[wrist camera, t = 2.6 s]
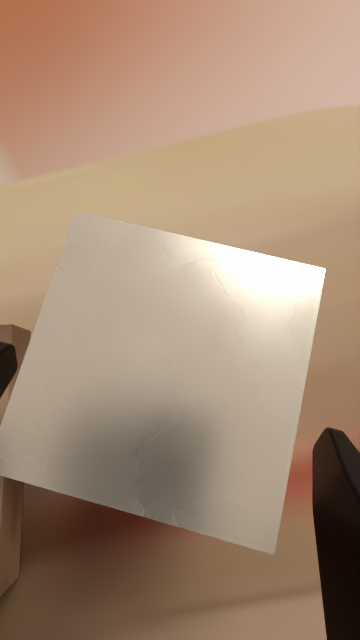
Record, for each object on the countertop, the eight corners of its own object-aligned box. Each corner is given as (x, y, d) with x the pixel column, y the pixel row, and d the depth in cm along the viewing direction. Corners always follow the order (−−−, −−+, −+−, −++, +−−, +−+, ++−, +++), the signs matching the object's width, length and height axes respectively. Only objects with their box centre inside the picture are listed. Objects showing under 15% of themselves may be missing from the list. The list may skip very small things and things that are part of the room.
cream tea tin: (218, 451, 17) (274, 555, 6) (107, 420, 18) (-16, 471, 7) (243, 339, 18) (325, 268, 8) (138, 313, 19) (75, 210, 8)
